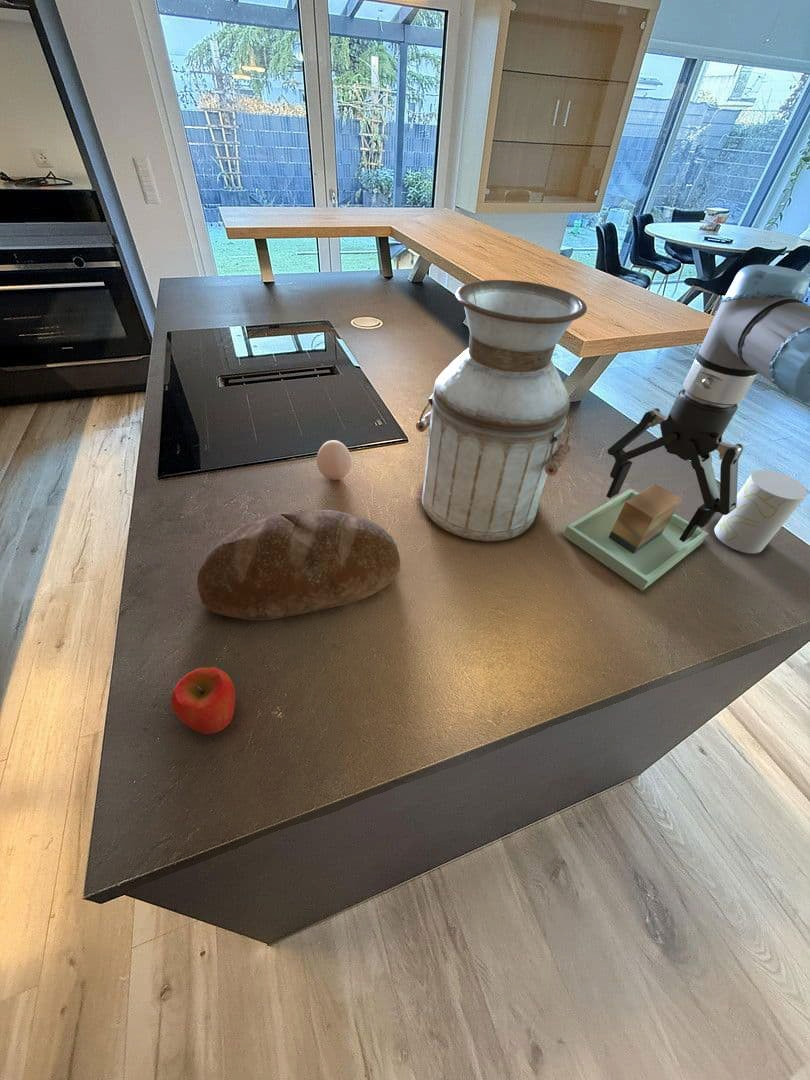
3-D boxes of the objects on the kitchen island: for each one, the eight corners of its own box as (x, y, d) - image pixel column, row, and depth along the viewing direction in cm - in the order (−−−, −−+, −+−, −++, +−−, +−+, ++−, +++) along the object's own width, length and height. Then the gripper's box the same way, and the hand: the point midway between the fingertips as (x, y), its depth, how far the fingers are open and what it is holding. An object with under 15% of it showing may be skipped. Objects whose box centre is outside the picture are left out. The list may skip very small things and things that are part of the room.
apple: (228, 684, 58) (214, 650, 52) (252, 721, 54) (239, 689, 49) (178, 715, 54) (158, 682, 49) (199, 756, 51) (180, 725, 46)
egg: (313, 471, 92) (310, 436, 86) (345, 464, 94) (344, 430, 89) (324, 490, 88) (321, 454, 82) (357, 482, 90) (356, 447, 84)
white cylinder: (704, 524, 86) (740, 471, 78) (742, 521, 87) (780, 468, 79) (735, 555, 80) (776, 501, 72) (774, 551, 81) (819, 497, 73)
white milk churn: (558, 496, 90) (628, 297, 65) (521, 563, 76) (593, 341, 51) (444, 456, 98) (469, 266, 74) (392, 510, 84) (402, 297, 60)
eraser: (661, 533, 82) (682, 498, 77) (633, 554, 78) (653, 517, 72) (636, 518, 85) (655, 483, 79) (608, 537, 81) (625, 501, 75)
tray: (702, 542, 82) (708, 533, 80) (642, 591, 73) (648, 581, 71) (625, 497, 91) (630, 488, 89) (563, 535, 81) (567, 526, 80)
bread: (204, 562, 72) (184, 506, 65) (384, 532, 80) (385, 479, 72) (203, 644, 62) (179, 588, 54) (411, 601, 69) (417, 546, 61)
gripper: (615, 369, 69) (573, 486, 83) (798, 443, 54) (708, 568, 69) (643, 360, 72) (597, 473, 86) (821, 426, 58) (731, 548, 72)
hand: (646, 515), depth 78 cm, fingers open, 13 cm apart
